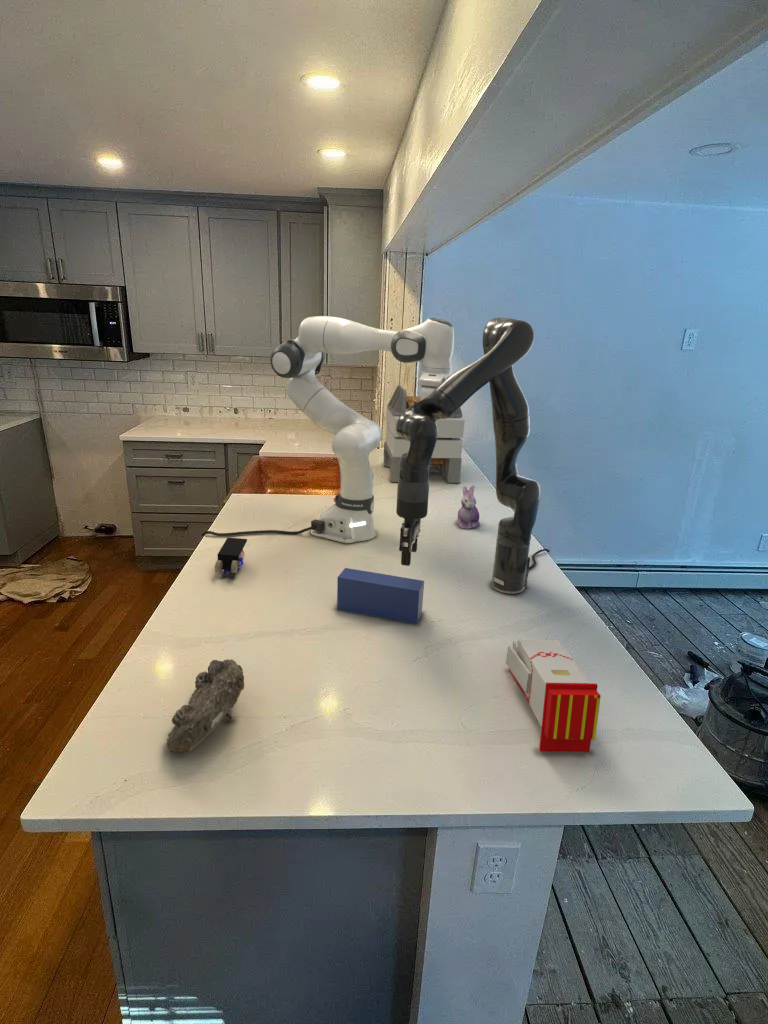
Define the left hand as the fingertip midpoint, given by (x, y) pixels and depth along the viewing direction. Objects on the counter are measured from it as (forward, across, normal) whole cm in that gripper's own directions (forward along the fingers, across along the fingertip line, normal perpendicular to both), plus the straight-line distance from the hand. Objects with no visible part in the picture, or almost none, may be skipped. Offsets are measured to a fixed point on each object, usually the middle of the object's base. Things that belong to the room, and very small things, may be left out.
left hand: (431, 424), depth 170 cm
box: (+43, +40, -2) cm, 59 cm away
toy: (+42, +66, +39) cm, 87 cm away
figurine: (+42, -32, +12) cm, 54 cm away
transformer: (+43, -94, -20) cm, 105 cm away
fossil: (+43, +90, -22) cm, 102 cm away
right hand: (+26, +41, +4) cm, 48 cm away
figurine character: (+43, +32, -50) cm, 73 cm away
